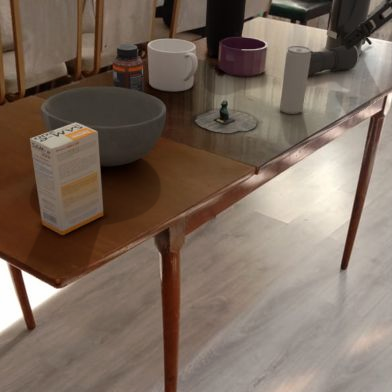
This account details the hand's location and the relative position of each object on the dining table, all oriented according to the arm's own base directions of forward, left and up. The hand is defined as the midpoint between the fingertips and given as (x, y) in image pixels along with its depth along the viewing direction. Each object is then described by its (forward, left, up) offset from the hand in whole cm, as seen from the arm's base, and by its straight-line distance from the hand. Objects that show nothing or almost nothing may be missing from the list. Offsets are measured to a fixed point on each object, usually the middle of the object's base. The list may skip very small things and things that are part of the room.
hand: (350, 39), depth 118 cm
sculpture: (+16, -16, -15) cm, 27 cm away
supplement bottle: (+22, -36, -15) cm, 45 cm away
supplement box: (+64, -12, -15) cm, 67 cm away
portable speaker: (-21, -41, -15) cm, 49 cm away
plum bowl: (-14, -31, -15) cm, 38 cm away
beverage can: (+2, -9, -15) cm, 18 cm away
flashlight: (-27, -15, -15) cm, 35 cm away
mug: (+6, -36, -15) cm, 40 cm away
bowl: (+45, -22, -15) cm, 52 cm away
